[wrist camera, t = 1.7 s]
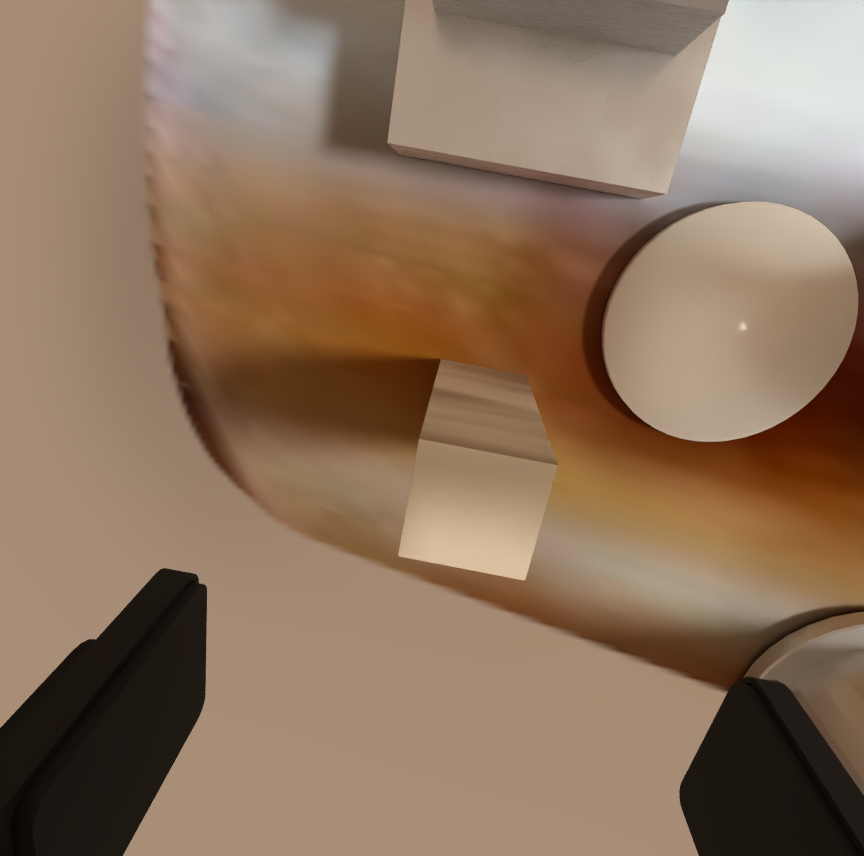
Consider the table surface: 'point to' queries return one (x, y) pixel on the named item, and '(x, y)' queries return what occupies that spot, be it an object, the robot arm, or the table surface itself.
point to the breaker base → (553, 87)
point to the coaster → (729, 321)
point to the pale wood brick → (479, 473)
